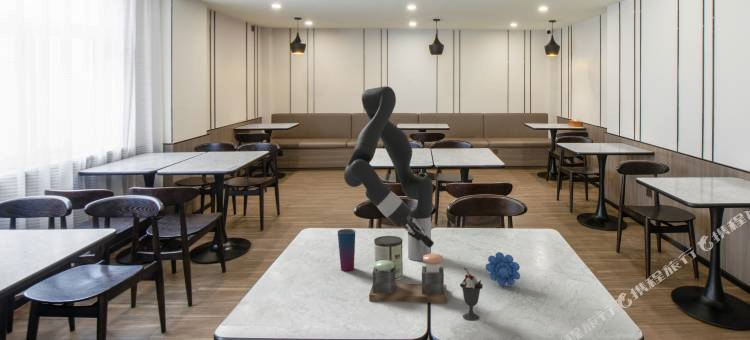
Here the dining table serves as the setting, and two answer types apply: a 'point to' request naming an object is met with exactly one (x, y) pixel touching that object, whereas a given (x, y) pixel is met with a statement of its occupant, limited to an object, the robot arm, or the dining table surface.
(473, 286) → the sundae
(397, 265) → the coffee can
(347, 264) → the cup
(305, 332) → the dining table surface
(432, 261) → the button
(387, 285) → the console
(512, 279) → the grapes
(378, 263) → the button
